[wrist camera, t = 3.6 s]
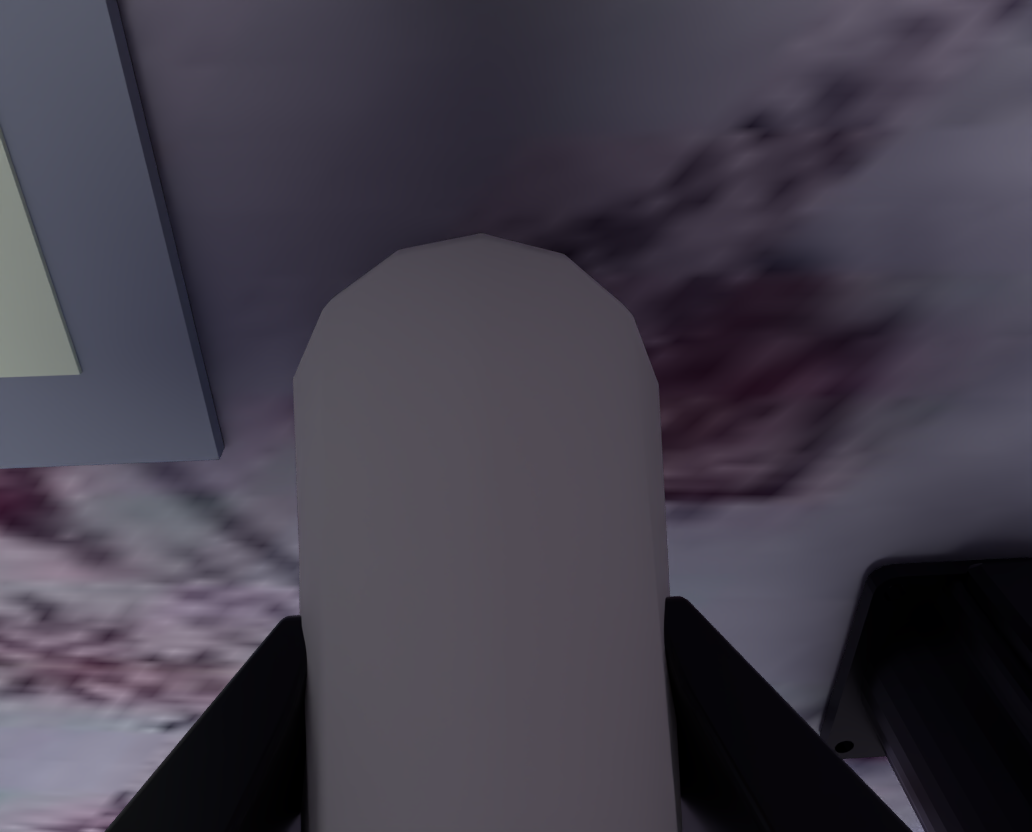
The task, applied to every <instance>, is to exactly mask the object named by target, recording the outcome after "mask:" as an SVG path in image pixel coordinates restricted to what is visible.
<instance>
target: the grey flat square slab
mask: <svg viewBox="0 0 1032 832" xmlns="http://www.w3.org/2000/svg"><path fill="white" fill-rule="evenodd" d="M223 450H224V444H223V440H222V436H221V432H220V428H219V424H218V419H217V415H216V411H215V407H214V403H213V399H212V395H211V390H210V386H209V382H208V378H207V374H206V370H205V366H204V361H203V357H202V353H201V349H200V345H199V341H198V337H197V332H196V328H195V324H194V320H193V316H192V312H191V307H190V303H189V299H188V295H187V291H186V287H185V283H184V278H183V274H182V270H181V266H180V262H179V258H178V254H177V249H176V245H175V241H174V237H173V233H172V229H171V225H170V220H169V216H168V212H167V208H166V204H165V200H164V196H163V191H162V187H161V183H160V179H159V175H158V171H157V167H156V162H155V158H154V154H153V150H152V146H151V142H150V138H149V133H148V129H147V125H146V121H145V117H144V113H143V109H142V104H141V100H140V96H139V92H138V88H137V84H136V80H135V75H134V71H133V67H132V63H131V59H130V55H129V51H128V46H127V42H126V38H125V34H124V30H123V26H122V21H121V17H120V13H119V9H118V5H117V1H116V0H0V469H4V468H28V467H53V466H77V465H102V464H126V463H151V462H176V461H200V460H219V459H220V457H221V455H222V452H223Z"/></svg>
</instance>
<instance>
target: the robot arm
mask: <svg viewBox="0 0 1032 832" xmlns="http://www.w3.org/2000/svg"><path fill="white" fill-rule="evenodd" d="M891 586H892V587H891ZM889 587H890V588H889ZM664 644H665V652H666V659H667V665H668V671H669V677H670V684H671V690H672V696H673V701H674V707H675V713H676V718H677V736H678V755H679V774H680V792H681V811H682V830H683V832H913V831H912V830H911V829H910V828H909V827H908V826H907V825H906V824H905V823H904V822H903V821H902V820H901V819H900V818H899V817H898V816H897V815H896V814H895V813H894V812H893V811H892V810H891V809H890V808H889V807H888V806H887V805H886V804H885V803H884V802H883V801H882V800H881V799H880V798H879V796H878V795H877V794H876V793H875V792H874V791H873V790H872V789H871V788H870V787H869V786H868V785H867V784H866V783H865V782H864V781H863V780H862V779H861V778H860V777H859V776H858V775H857V774H856V773H855V772H854V771H853V770H852V769H851V768H850V767H849V766H848V765H847V764H846V763H845V761H844V760H843V759H847V758H863V757H880V756H886V757H887V759H888V761H889V763H890V764H891V766H892V768H893V770H894V772H895V774H896V776H897V778H898V780H899V782H900V784H901V786H902V788H903V790H904V792H905V794H906V796H907V798H908V800H909V802H910V804H911V806H912V808H913V809H914V811H915V813H916V815H917V817H918V819H919V821H920V823H921V825H922V827H923V829H924V831H925V832H1032V558H1013V559H993V560H972V561H952V562H931V563H910V564H891V565H886V566H882V567H880V568H878V569H876V570H875V571H874V572H872V573H871V574H870V575H869V576H868V578H867V580H866V582H865V585H864V589H863V592H862V595H861V599H860V602H859V605H858V609H857V612H856V616H855V619H854V622H853V626H852V629H851V632H850V636H849V639H848V642H847V646H846V649H845V652H844V656H843V659H842V662H841V666H840V669H839V673H838V676H837V679H836V683H835V686H834V689H833V693H832V696H831V699H830V703H829V706H828V709H827V713H826V716H825V719H824V723H823V726H822V730H821V733H820V736H819V735H818V734H817V733H816V732H815V731H814V730H813V729H812V728H811V726H810V725H809V724H808V723H807V722H806V721H805V720H804V719H803V718H802V717H801V716H800V715H799V714H798V713H797V712H796V711H795V710H794V709H793V708H792V707H791V706H790V705H789V704H788V703H787V702H786V701H785V700H784V699H783V698H782V697H781V696H780V695H779V694H778V693H777V691H776V690H775V689H774V688H773V687H772V686H771V685H770V684H769V683H768V682H767V681H766V680H765V679H764V678H763V677H762V676H761V675H760V674H759V673H758V672H757V671H756V670H755V669H754V668H753V667H752V666H751V665H750V664H749V663H748V662H747V661H746V660H745V659H744V658H743V656H742V655H741V654H740V653H739V652H738V651H737V650H736V649H735V648H734V647H733V646H732V645H731V644H730V643H729V642H728V641H727V640H726V639H725V638H724V637H723V636H722V635H721V634H720V633H719V632H718V631H717V630H716V629H715V628H714V627H713V626H712V625H711V624H710V623H709V622H708V620H707V619H706V618H705V617H704V616H703V615H702V614H701V613H700V612H699V611H698V610H697V609H696V608H695V607H694V606H693V605H692V604H691V603H690V602H689V601H688V600H687V599H685V598H683V597H680V596H674V597H666V599H665V611H664ZM306 677H307V652H306V645H305V640H304V635H303V629H302V618H301V615H294V616H287V617H285V618H283V619H282V620H281V621H280V622H279V623H278V624H277V625H276V627H275V628H274V629H273V630H272V631H271V633H270V634H269V635H268V636H267V637H266V639H265V640H264V641H263V642H262V643H261V645H260V646H259V647H258V648H257V649H256V651H255V652H254V653H253V654H252V655H251V657H250V658H249V659H248V660H247V661H246V663H245V664H244V665H243V666H242V667H241V669H240V670H239V671H238V672H237V673H236V675H235V676H234V677H233V678H232V679H231V681H230V682H229V683H228V684H227V685H226V687H225V688H224V689H223V690H222V691H221V693H220V694H219V695H218V696H217V697H216V699H215V700H214V701H213V702H212V703H211V705H210V706H209V707H208V708H207V709H206V711H205V712H204V713H203V714H202V715H201V717H200V718H199V719H198V720H197V721H196V723H195V724H194V725H193V726H192V727H191V729H190V730H189V731H188V732H187V733H186V735H185V736H184V737H183V738H182V739H181V741H180V742H179V743H178V744H177V745H176V747H175V748H174V749H173V750H172V751H171V753H170V754H169V755H168V756H167V757H166V759H165V760H164V761H163V762H162V763H161V765H160V766H159V767H158V768H157V769H156V771H155V772H154V773H153V774H152V775H151V777H150V778H149V779H148V780H147V781H146V783H145V784H144V785H143V786H142V787H141V789H140V790H139V791H138V792H137V793H136V795H135V796H134V797H133V798H132V799H131V801H130V802H129V803H128V804H127V805H126V807H125V808H124V809H123V810H122V811H121V813H120V814H119V815H118V816H117V817H116V819H115V820H114V821H113V822H112V823H111V825H110V826H109V827H108V828H107V829H106V831H105V832H301V818H300V813H301V803H302V792H303V782H304V770H305V759H306V728H305V700H304V698H305V687H306Z"/></svg>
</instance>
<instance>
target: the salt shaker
mask: <svg viewBox="0 0 1032 832" xmlns="http://www.w3.org/2000/svg"><path fill="white" fill-rule="evenodd" d="M293 398H294V426H295V453H296V481H297V508H298V535H299V596H300V615H301V618H302V629H303V635H304V640H305V645H306V652H307V677H306V687H305V698H304V700H305V728H306V759H305V770H304V782H303V792H302V803H301V813H300V818H301V832H683V830H682V811H681V792H680V774H679V755H678V736H677V718H676V713H675V707H674V701H673V696H672V690H671V684H670V677H669V671H668V665H667V659H666V652H665V644H664V611H665V599H666V597H670V587H669V568H668V549H667V531H666V512H665V493H664V475H663V456H662V437H661V419H660V400H659V384H658V381H657V379H656V376H655V373H654V371H653V368H652V365H651V363H650V360H649V357H648V355H647V352H646V349H645V346H644V344H643V341H642V338H641V336H640V333H639V330H638V328H637V325H636V322H635V320H634V317H633V315H632V314H631V313H630V312H629V311H628V309H627V308H626V307H625V306H624V305H623V304H622V303H621V302H620V301H619V300H618V299H616V298H615V297H614V296H613V295H612V294H611V293H609V292H608V291H607V290H606V289H605V288H604V287H602V286H601V285H600V284H599V283H598V282H596V281H595V280H594V279H593V278H592V277H591V276H589V275H588V274H587V273H586V272H585V271H584V270H582V269H581V268H580V267H579V266H578V265H576V264H575V263H574V262H573V261H572V260H571V259H569V258H568V257H567V256H566V255H565V254H562V253H558V252H554V251H550V250H547V249H543V248H539V247H535V246H531V245H527V244H523V243H519V242H515V241H511V240H507V239H503V238H499V237H495V236H492V235H488V234H484V233H479V234H474V235H469V236H464V237H459V238H454V239H449V240H444V241H439V242H434V243H429V244H424V245H419V246H414V247H409V248H404V249H399V250H397V251H396V252H395V253H393V254H392V255H391V256H389V257H388V258H386V259H385V260H384V261H382V262H381V263H380V264H378V265H377V266H375V267H374V268H373V269H371V270H370V271H369V272H367V273H366V274H364V275H363V276H362V277H360V278H359V279H358V280H356V281H355V282H354V283H352V284H351V285H349V286H348V287H347V288H345V289H344V290H343V291H341V292H340V293H338V294H337V295H336V296H334V297H333V298H332V299H331V300H330V301H329V303H328V304H327V305H326V306H325V307H324V308H323V310H322V312H321V314H320V317H319V319H318V321H317V324H316V326H315V328H314V331H313V333H312V335H311V338H310V340H309V342H308V345H307V347H306V349H305V352H304V354H303V356H302V359H301V361H300V363H299V366H298V368H297V370H296V373H295V375H294V377H293Z"/></svg>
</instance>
